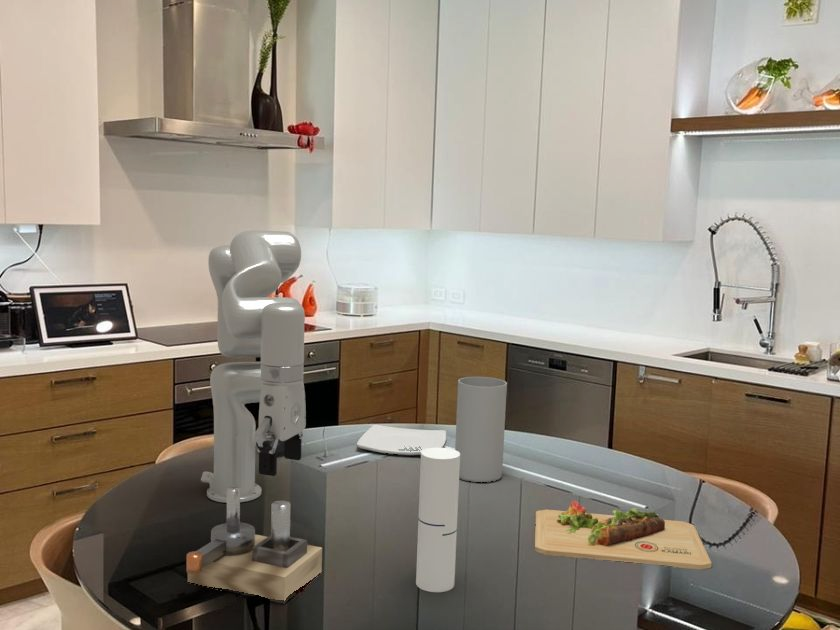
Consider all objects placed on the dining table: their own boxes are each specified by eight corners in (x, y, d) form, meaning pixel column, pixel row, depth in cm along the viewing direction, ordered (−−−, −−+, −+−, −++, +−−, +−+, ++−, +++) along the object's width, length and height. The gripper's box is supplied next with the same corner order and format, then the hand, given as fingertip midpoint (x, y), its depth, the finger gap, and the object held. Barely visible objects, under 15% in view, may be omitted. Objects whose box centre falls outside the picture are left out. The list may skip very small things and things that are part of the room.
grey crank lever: (170, 569, 147) (170, 508, 145) (226, 534, 163) (227, 479, 161) (209, 578, 144) (209, 516, 143) (262, 541, 160) (263, 485, 159)
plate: (351, 454, 236) (351, 445, 236) (371, 431, 260) (371, 423, 260) (437, 462, 232) (438, 452, 232) (449, 438, 256) (450, 429, 256)
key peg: (283, 561, 152) (284, 508, 151) (267, 558, 153) (267, 505, 152) (292, 554, 155) (293, 502, 154) (276, 551, 157) (277, 499, 155)
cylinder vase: (446, 470, 224) (450, 378, 220) (488, 466, 229) (492, 375, 225) (467, 485, 212) (471, 388, 209) (510, 481, 217) (515, 385, 214)
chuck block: (187, 582, 154) (187, 543, 153) (230, 553, 167) (231, 517, 166) (284, 604, 147) (285, 563, 146) (321, 572, 160) (322, 534, 159)
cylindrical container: (414, 575, 160) (419, 447, 157) (451, 575, 161) (457, 447, 158) (417, 592, 153) (422, 458, 150) (456, 592, 154) (462, 459, 151)
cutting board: (534, 557, 172) (536, 521, 171) (535, 515, 195) (537, 484, 194) (712, 574, 168) (715, 537, 166) (692, 529, 190) (694, 497, 189)
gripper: (278, 384, 140) (277, 484, 143) (321, 366, 157) (319, 456, 159) (238, 380, 143) (237, 478, 145) (285, 362, 159) (283, 451, 161)
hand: (280, 466), depth 152 cm, fingers open, 9 cm apart
